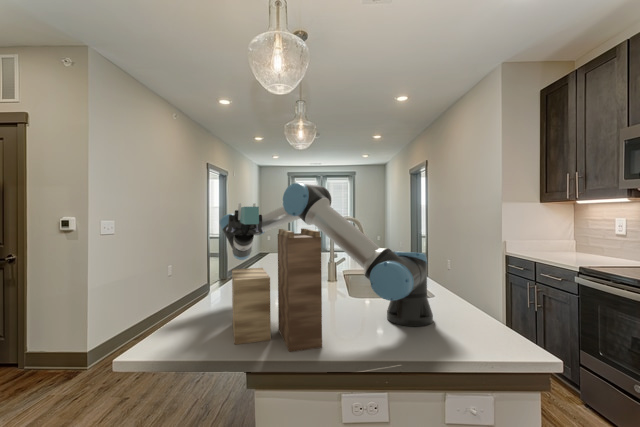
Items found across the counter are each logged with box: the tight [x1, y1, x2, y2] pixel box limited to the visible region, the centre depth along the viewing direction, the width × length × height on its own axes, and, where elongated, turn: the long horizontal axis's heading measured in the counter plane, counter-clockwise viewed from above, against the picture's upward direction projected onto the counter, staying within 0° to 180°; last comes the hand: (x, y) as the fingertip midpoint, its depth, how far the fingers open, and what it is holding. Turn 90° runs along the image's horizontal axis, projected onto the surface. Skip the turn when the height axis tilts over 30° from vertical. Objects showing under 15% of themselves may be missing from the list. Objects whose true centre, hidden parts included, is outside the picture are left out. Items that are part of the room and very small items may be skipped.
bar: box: [240, 206, 260, 224], centre depth 104 cm, size 26×4×5 cm, turn 17°
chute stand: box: [277, 228, 323, 353], centre depth 94 cm, size 17×9×32 cm, turn 17°
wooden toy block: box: [231, 267, 272, 345], centre depth 100 cm, size 18×10×18 cm, turn 17°
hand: (247, 207), depth 107 cm, fingers closed on bar, 4 cm apart
